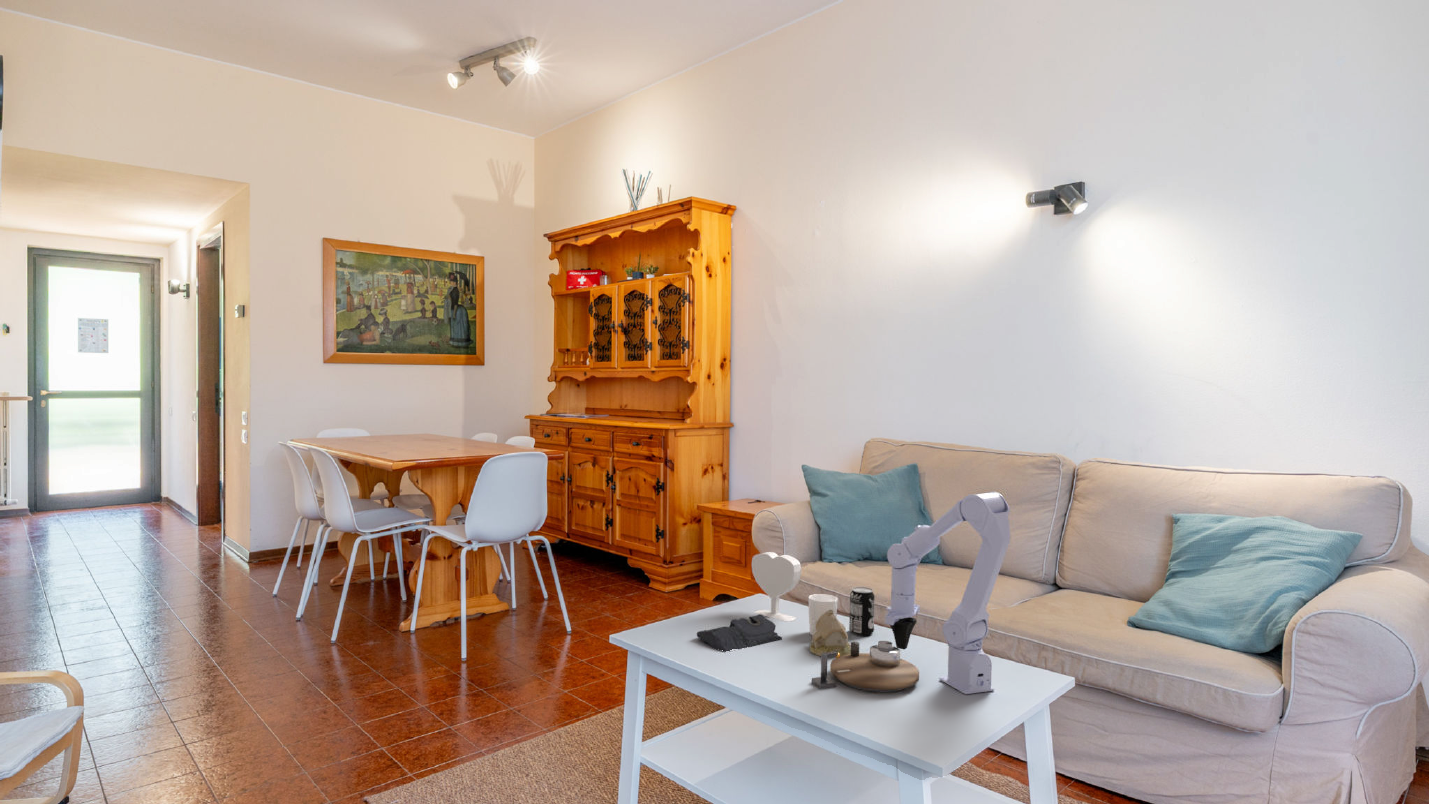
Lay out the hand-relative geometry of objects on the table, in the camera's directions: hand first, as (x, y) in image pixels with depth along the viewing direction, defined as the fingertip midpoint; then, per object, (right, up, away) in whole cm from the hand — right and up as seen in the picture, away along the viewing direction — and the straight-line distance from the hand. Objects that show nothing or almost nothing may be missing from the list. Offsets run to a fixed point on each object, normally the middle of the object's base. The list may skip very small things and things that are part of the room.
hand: (901, 648), depth 189 cm
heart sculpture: (-28, -3, +39) cm, 48 cm away
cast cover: (-6, -1, -7) cm, 9 cm away
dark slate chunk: (-39, -4, +17) cm, 43 cm away
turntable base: (-9, -4, -11) cm, 14 cm away
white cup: (-16, -3, +22) cm, 28 cm away
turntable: (-9, -2, -11) cm, 14 cm away
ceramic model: (-16, -4, +10) cm, 19 cm away
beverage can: (-5, -4, +24) cm, 25 cm away
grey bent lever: (-21, -4, -15) cm, 26 cm away
